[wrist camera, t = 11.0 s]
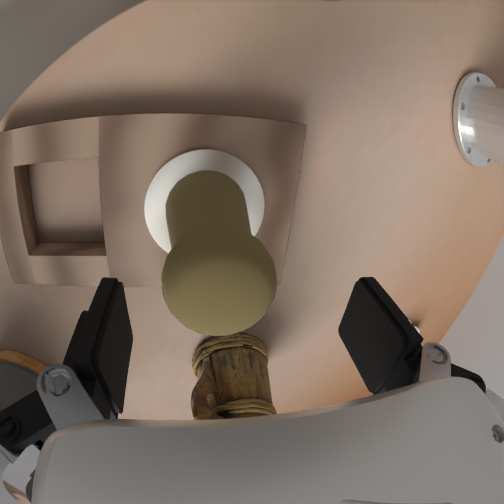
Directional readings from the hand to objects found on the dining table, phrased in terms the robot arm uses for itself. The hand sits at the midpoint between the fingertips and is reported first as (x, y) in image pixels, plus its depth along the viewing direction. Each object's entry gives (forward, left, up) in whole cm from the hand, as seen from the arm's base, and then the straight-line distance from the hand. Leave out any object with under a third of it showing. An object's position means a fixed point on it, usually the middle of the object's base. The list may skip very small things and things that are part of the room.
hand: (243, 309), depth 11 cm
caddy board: (+7, 0, -15) cm, 16 cm away
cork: (+1, 0, -12) cm, 12 cm away
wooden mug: (-1, +18, -15) cm, 24 cm away
